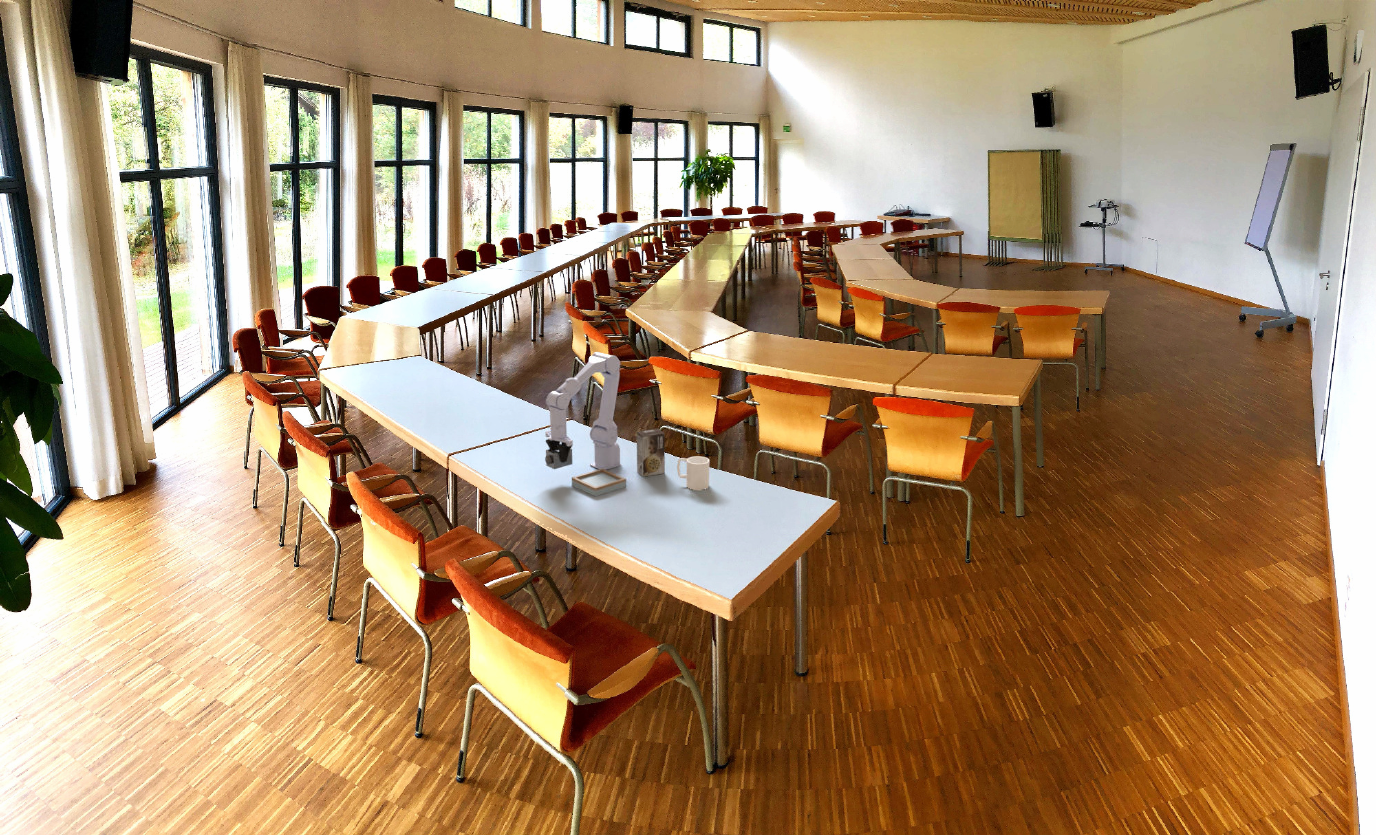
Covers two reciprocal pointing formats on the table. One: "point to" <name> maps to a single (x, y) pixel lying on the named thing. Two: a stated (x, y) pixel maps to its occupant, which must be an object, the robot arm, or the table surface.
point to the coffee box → (650, 452)
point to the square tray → (598, 482)
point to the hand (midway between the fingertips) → (559, 459)
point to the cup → (696, 472)
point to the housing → (556, 458)
